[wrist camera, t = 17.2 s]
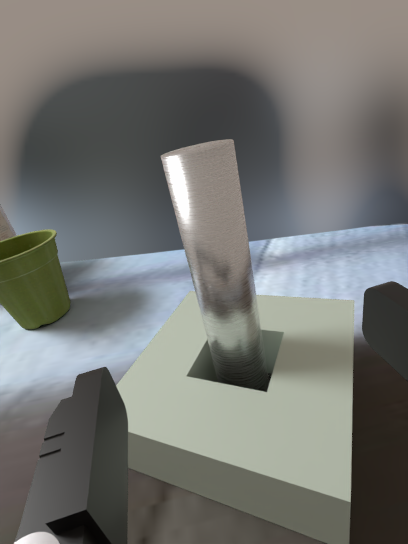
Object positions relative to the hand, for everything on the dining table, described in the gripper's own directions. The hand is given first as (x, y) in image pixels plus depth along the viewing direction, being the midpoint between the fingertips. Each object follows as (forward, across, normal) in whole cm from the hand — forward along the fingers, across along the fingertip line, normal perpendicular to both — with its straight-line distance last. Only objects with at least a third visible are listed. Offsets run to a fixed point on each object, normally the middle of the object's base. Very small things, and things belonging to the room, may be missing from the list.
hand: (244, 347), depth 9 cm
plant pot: (+36, +21, +16) cm, 44 cm away
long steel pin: (+10, -2, +15) cm, 19 cm away
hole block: (+11, -2, +15) cm, 19 cm away
